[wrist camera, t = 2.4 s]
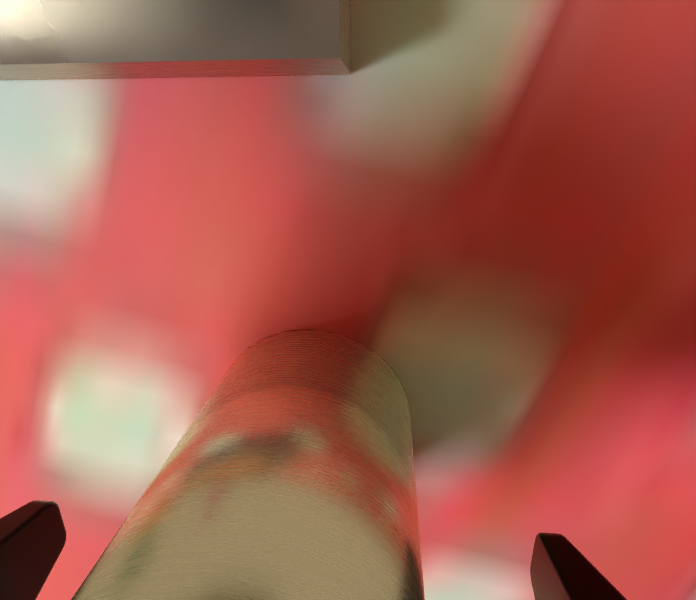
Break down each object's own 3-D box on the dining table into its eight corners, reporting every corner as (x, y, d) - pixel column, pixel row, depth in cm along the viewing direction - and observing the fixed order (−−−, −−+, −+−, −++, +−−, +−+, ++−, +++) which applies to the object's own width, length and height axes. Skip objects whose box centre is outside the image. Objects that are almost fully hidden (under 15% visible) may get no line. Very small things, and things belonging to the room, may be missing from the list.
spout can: (414, 332, 11) (456, 651, 4) (404, 541, 13) (421, 964, 6) (208, 326, 11) (-56, 607, 4) (233, 530, 13) (81, 916, 7)
